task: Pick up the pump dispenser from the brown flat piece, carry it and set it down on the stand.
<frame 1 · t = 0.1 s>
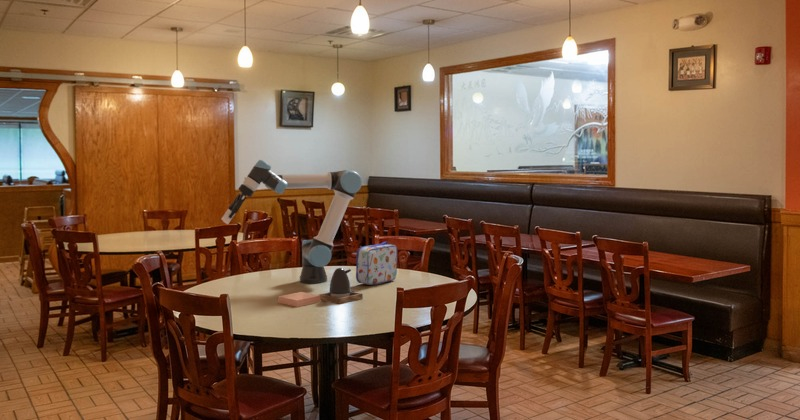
hand: (224, 221, 342), 36 cm above the table, tool tilted 35°, fingers open, 13 cm apart
lunch box: (377, 283, 366), on the table
brown flat piece: (340, 299, 325), on the table
pump dispenser: (340, 299, 325), resting in brown flat piece
stand: (299, 302, 319), on the table
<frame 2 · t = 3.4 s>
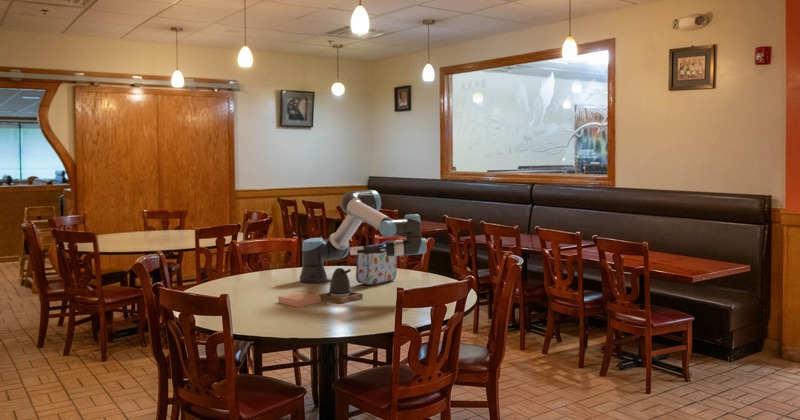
hand: (350, 251, 324), 23 cm above the table, tool horizontal, fingers open, 13 cm apart
nothing on the table moved.
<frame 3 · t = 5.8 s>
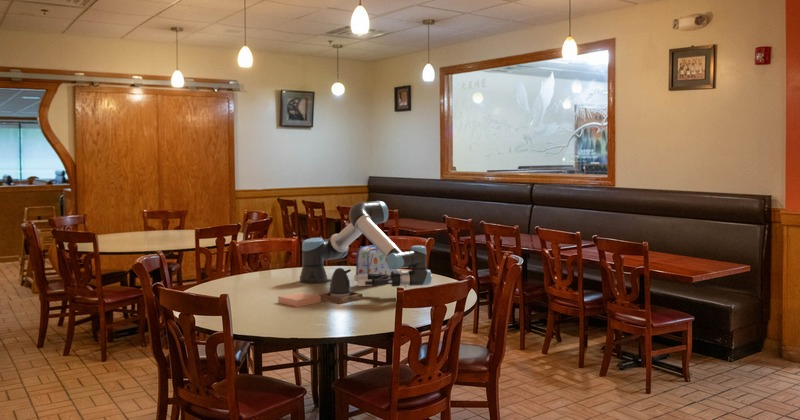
hand: (356, 280, 325), 9 cm above the table, tool horizontal, fingers open, 13 cm apart
nothing on the table moved.
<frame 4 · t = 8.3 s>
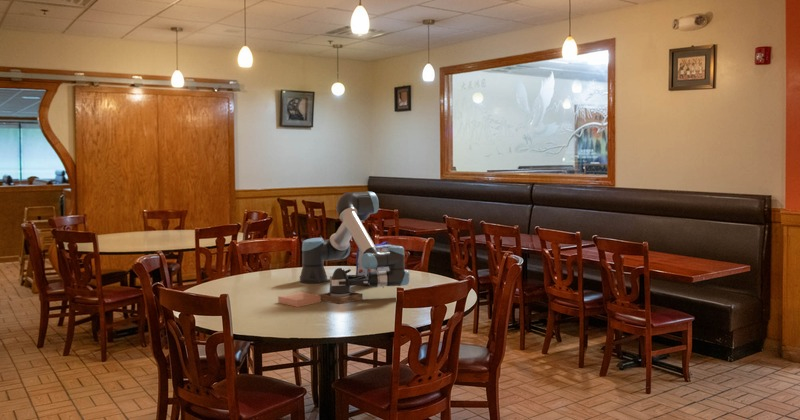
hand: (330, 281, 323), 9 cm above the table, tool horizontal, fingers closed on pump dispenser, 9 cm apart
pump dispenser: (340, 299, 325), resting in brown flat piece, touching gripper
everything else where it was.
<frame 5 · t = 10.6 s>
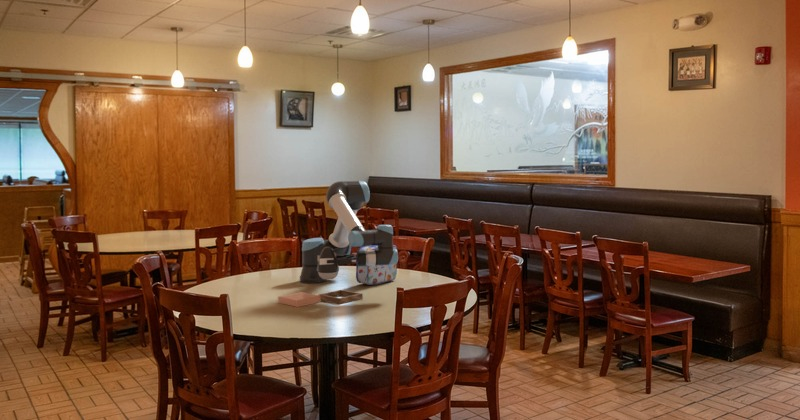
hand: (318, 260, 319), 20 cm above the table, tool horizontal, fingers closed on pump dispenser, 9 cm apart
pump dispenser: (328, 278, 321), point 10 cm above the table, touching gripper
everything else where it was.
when the fingers open (13 cm above the table, at t = 13.1 s): pump dispenser drops 1 cm, resting on stand.
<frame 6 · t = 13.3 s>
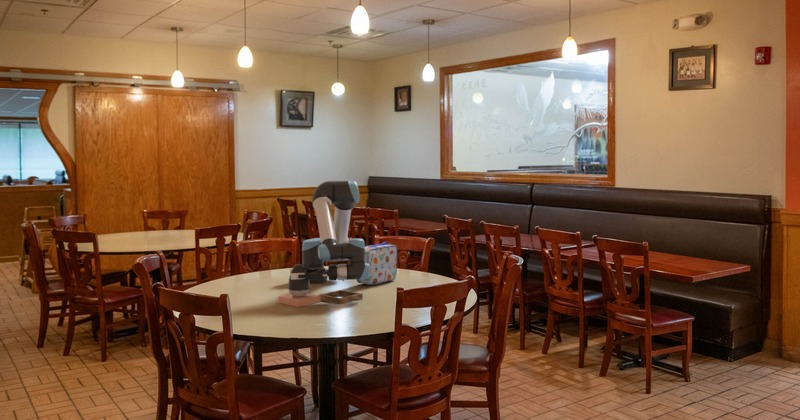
hand: (290, 274, 317), 13 cm above the table, tool horizontal, fingers open, 11 cm apart
pump dispenser: (299, 296, 319), point 3 cm above the table, touching stand
everything else where it was.
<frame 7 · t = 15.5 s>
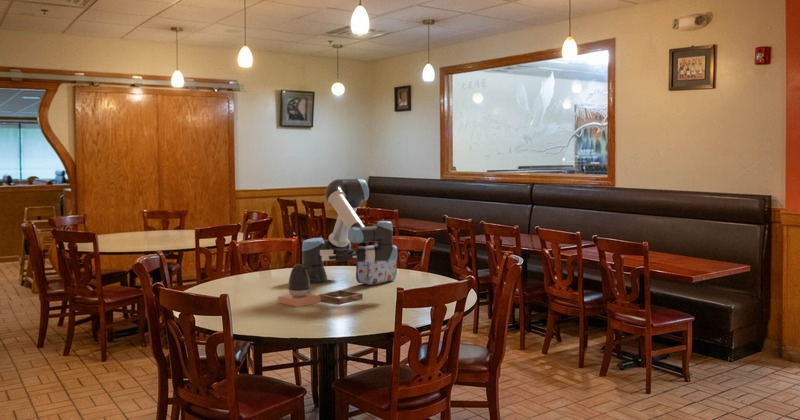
hand: (320, 255, 322), 22 cm above the table, tool horizontal, fingers open, 13 cm apart
nothing on the table moved.
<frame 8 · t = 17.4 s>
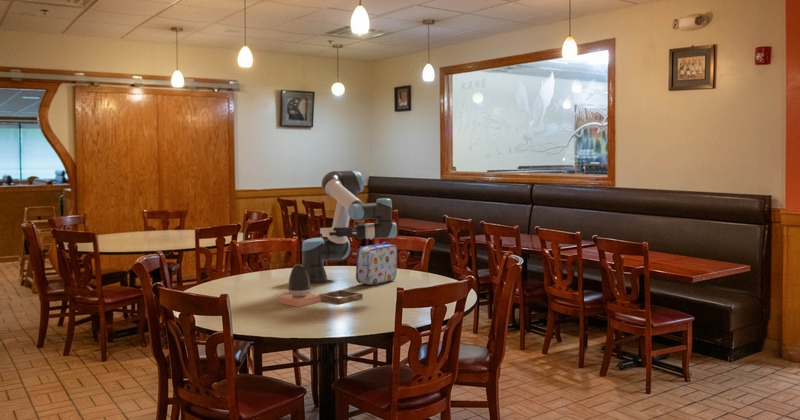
hand: (321, 232, 326), 32 cm above the table, tool horizontal, fingers open, 13 cm apart
nothing on the table moved.
at the end: pump dispenser inside the target area on the stand (0.1 cm from its centre), point 2.8 cm above the stand's base; pump dispenser tilted 0°; the gripper is holding nothing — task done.
